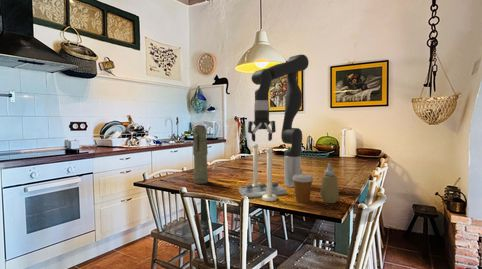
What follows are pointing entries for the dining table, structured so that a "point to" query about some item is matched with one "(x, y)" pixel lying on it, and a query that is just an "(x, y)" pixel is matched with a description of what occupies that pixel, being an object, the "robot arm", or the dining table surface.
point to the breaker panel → (261, 191)
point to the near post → (269, 178)
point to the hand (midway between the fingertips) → (261, 141)
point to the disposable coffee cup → (302, 187)
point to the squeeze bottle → (329, 186)
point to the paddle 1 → (249, 186)
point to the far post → (255, 165)
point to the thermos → (200, 155)
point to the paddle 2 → (274, 184)
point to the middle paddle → (262, 185)
